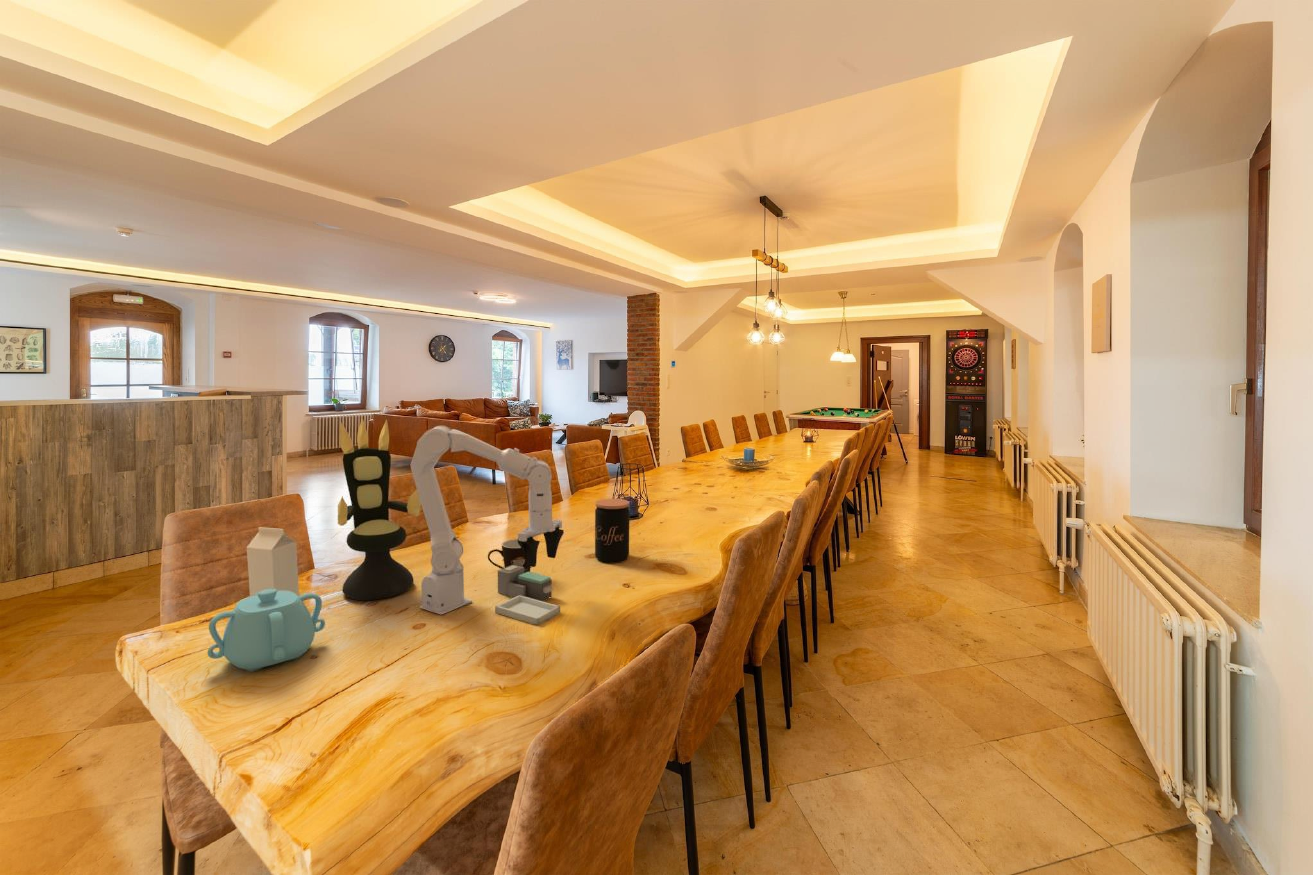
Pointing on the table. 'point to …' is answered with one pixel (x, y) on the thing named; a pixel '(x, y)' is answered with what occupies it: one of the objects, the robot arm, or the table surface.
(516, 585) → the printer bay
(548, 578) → the mint green tabbed block
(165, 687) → the table surface
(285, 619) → the decorative pot
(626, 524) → the coffee jar
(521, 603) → the tray
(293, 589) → the milk carton
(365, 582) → the black throne chair
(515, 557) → the coffee mug
